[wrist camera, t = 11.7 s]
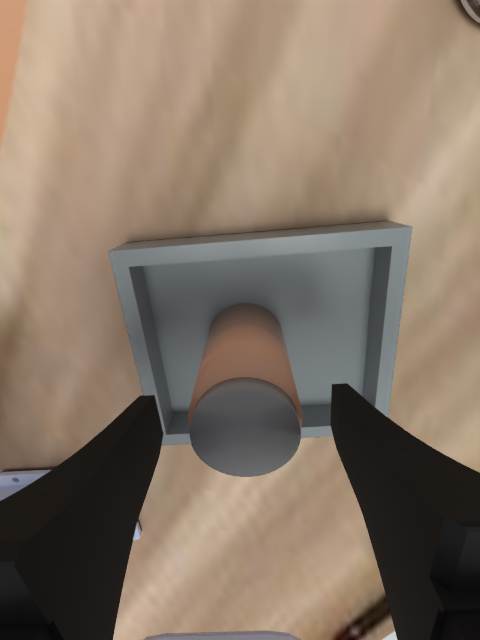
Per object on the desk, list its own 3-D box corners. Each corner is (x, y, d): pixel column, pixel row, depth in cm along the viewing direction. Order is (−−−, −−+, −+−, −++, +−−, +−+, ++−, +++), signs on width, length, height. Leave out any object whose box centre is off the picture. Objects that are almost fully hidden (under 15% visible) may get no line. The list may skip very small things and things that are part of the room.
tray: (165, 418, 22) (155, 445, 20) (126, 242, 17) (108, 251, 15) (370, 406, 21) (385, 433, 19) (389, 220, 16) (412, 226, 14)
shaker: (213, 371, 20) (193, 483, 12) (204, 305, 18) (174, 389, 11) (283, 367, 19) (306, 477, 12) (281, 300, 18) (306, 381, 10)
